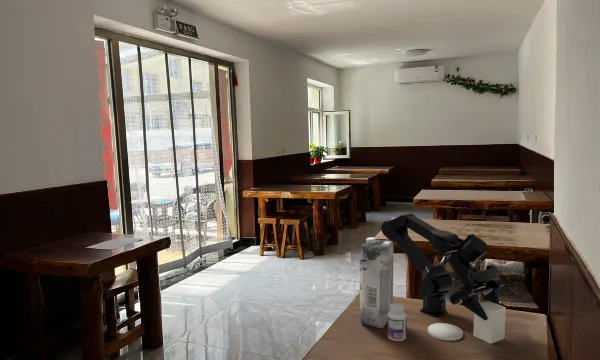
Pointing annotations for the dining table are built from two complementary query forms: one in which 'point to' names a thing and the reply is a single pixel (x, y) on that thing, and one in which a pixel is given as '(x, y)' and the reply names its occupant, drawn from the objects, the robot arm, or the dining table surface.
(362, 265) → the juice carton
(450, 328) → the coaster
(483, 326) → the cover
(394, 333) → the pill bottle
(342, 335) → the dining table surface
